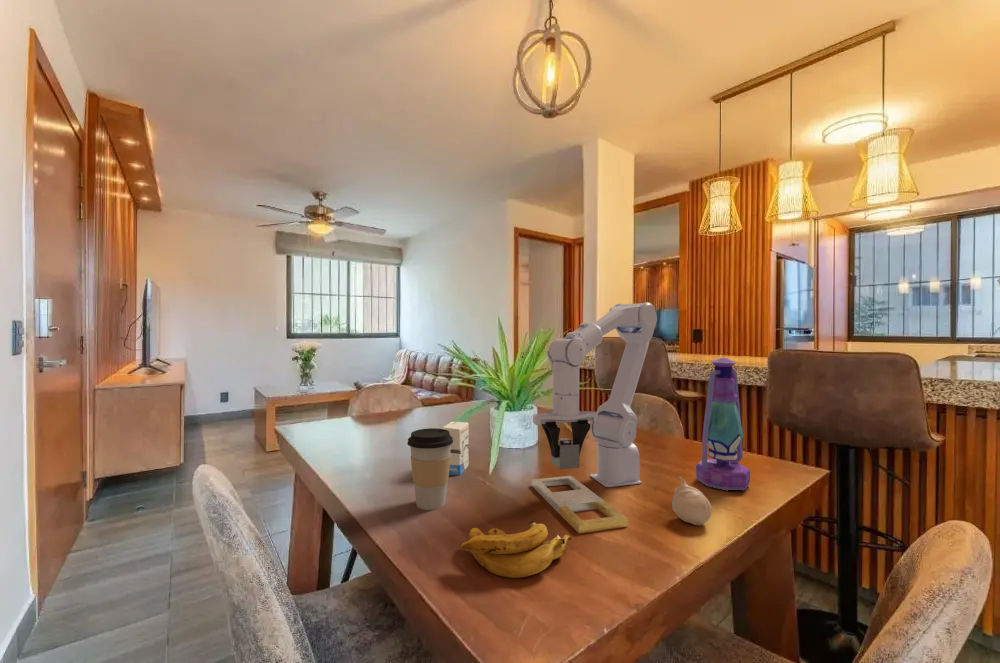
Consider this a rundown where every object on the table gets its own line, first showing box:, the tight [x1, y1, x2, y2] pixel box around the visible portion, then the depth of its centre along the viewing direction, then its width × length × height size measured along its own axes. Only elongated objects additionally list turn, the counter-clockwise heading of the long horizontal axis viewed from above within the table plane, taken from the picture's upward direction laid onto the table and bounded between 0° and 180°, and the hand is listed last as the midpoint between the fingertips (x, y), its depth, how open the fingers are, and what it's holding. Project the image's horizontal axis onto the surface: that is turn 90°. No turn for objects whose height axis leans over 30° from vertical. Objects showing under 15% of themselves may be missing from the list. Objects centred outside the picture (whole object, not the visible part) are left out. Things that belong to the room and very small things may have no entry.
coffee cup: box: [407, 427, 453, 511], centre depth 89 cm, size 9×9×15 cm
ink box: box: [442, 421, 470, 476], centre depth 111 cm, size 9×5×12 cm, turn 168°
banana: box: [460, 520, 572, 579], centre depth 70 cm, size 15×19×6 cm
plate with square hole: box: [531, 475, 629, 535], centre depth 90 cm, size 10×24×2 cm, turn 16°
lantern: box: [695, 357, 751, 492], centre depth 102 cm, size 13×12×30 cm
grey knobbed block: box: [551, 437, 580, 470], centre depth 94 cm, size 4×4×6 cm
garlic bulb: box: [671, 475, 713, 526], centre depth 82 cm, size 7×6×8 cm
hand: (565, 455), depth 94 cm, fingers closed on grey knobbed block, 4 cm apart
